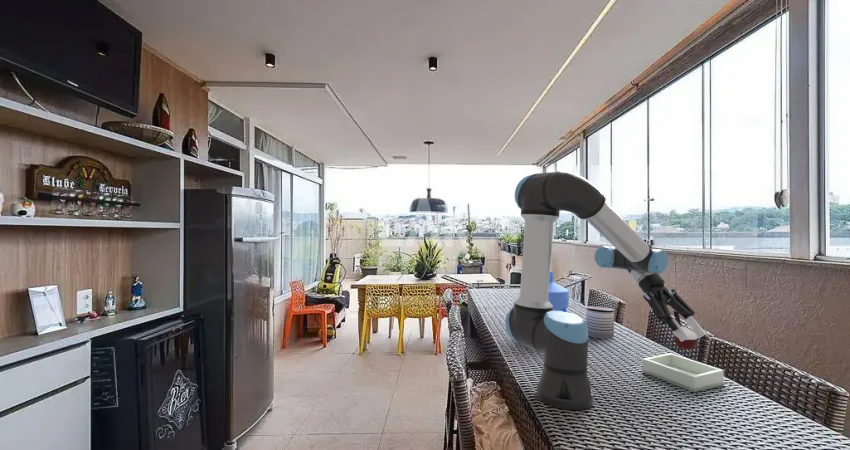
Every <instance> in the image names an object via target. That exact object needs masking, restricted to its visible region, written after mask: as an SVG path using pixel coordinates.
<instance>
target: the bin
mask: <svg viewBox="0 0 850 450" xmlns="http://www.w3.org/2000/svg"><path fill="white" fill-rule="evenodd" d="M641 368H642V370H641V372H642V373H644V374H646V375H648V374H649V376H651V375H652V376H651V377H654V376H655V377H654V378H656V377H657V378H656V379H659V378H660V379H659V380H661V379H662V380H661V381H664V380H665V381H664V382H666V381H667V383H669V382H670V383H669V384H672V385H674V384H675V386H677V387H679V386H680V387H679V388H682V389H684V388H685V390H687V391H690V392H691V393H692V392H693V393H697V392H701V391H705V390H708V389H712V388H716V387H720V386H723V385H724V376H725V375H724V373H725V371H724V369H721V368H718V367H714V366H712V365H708V364H705V363H704V362H703V363H702V362H700V361H697V360H694V359H690V358H686V357H684V356H681V355H678V354H675V353H671V352H669V353H664V354H659V355H654V356H649V357H644V358H642V367H641Z"/></svg>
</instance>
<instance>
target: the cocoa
mask: <svg viewBox="0 0 850 450" xmlns="http://www.w3.org/2000/svg"><path fill="white" fill-rule="evenodd" d="M673 315H674V319H675V320H676V321H677V322H678V324H679V325H680V326H681V327H682V329H683V330H684V331H685V333H686V334H687V335H688V338H687V339H685V340H684V341H682V342H681V341H680V340H679V338H678V337H677V336H676V334H675V333H674V332H673V331H672V332H673V339H674V342H675V346H677V347H678V348H680V349H681V350H688V351H689V350H690V351H691V350H694V349H695V348H696V346H697V344H698V339H699V338H698V336H697V335H696V333H695V332H694V331H692V330H691V328H688V327H686V326H682V323H681V318H680V314H679V313H678V312H677V311H675V310H673Z"/></svg>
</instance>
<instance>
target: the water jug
mask: <svg viewBox="0 0 850 450" xmlns="http://www.w3.org/2000/svg"><path fill="white" fill-rule="evenodd" d="M554 274H555V273H554V272H553V271H550V280H549V294H548V301H549V302H550V303H551V304H552V306H553V309H552V311H564V312H567V308H568V307H569V304H570V303H569V301H570V295H569V293H570V292H569V289H567V288H565V287H563V286H562V285H560V284H558V283H556V282H554Z"/></svg>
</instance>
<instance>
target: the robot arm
mask: <svg viewBox="0 0 850 450" xmlns="http://www.w3.org/2000/svg"><path fill="white" fill-rule="evenodd" d="M514 201H515V204H516V205H517V207H518V208H519V209H520V217H521V218H522V219H523V220H524V235H523V246H522V247H523V248H522V260H521V262H522V263H521V273H520V274H521V275H520V290H519V297H518V298H516V300H514V304H513V307H511V308H510V309H509V311H508V312H507V314H506V316H505V322H504V323H505V325H504V327H505V330H506V333H507V334H508V336H509V337H510V339H511V340H513V341H514V342H516V343H517V344H519V345H520V346H522V347H526V348H528V349H531V350H533V351H535V352H537V353H541V354H543V368H542V369H543V370H542V373H541V375H540V377H539V382H538V383H537V385H536V396H537V399H539V400H540V401H541V402H542V403H544V404H546V405H548V406H551V407H554V408H557V409H562V410H568V411H580V410H581V411H582V410H587V409H589V408H592V406H593V405H594V392H593V390H592V386H591V382H590V379H589V376H588V354H589V351H588V350H589V335H588V326H587V323H586V319H584V318H583V317H581V316H580V315H577V314H575V313H572V312H569V311H566V312H564V311H562V310H561V311H552V309H553V306H552V304H551V303H550V302H549V301H548V294H549V280H550V272H551V266H552V265H551V263H552V249H553V236H554V235H553V234H554V224H555V222H556V221H557V220H558V219H560V212H562V211H564V212H568V213H572V214H574V215H575V216H576V217H577V218H579V219H580V220H585V221H586V222H587V223H588V224H589V225H591V226H592V227H593V228H594V230H596V231H597V232H598V233H599V234H600V235H601V236H602V237H603V238H604V239H605V240H607V241H608V242H609V243H610V244H611V245H602V246H599V247H597V249H596V250H595V252H594V261H595V263H596V265H597V266H599V267H600V268H606V269H610V268H611V269H621V270H626V271H627V272H628V273H629V274H630V276H631V278H632V279H633V280H634V282H635V283H636V284H638V287H639V288H640V289H641V290H642V292H643V293H644V294H643V296H642V298H643V299H644V300H645V301H646V302H647V304H648V305H649V307H650V309H651V311H652V312H653V313H654V315H655V317H656V319H657V320H658V321H659V322H661V324H663V325H666V324H667V326H668V327H669V328H670V330H671V331H672V332H674V333H675V334H676V336H677V337H678V338H679V340H680V341H681V342H682V341H684V340H685V339H687V338H688V335H687V334H686V333H685V331H684V330H683V329H682V327H683V326H682V325H681V326H680V325H679V324H678V322H677V321H676V320H675V318H672V315H671V312H670V310H669V308H668V306H670V307H671V309H673V311H676V312H678V313H679V316H681V317H682V318H684V322H685V323H686V325H687V326H688V327H689V329H690V330H692V331H694V332H695V333H696V335H697V336H698V338H697V339H700V338H702V337H704V336H705V335H707V333H706V331H705V330H704V329H703V328H702V326H701V325H700V324H699V323H698V321H697V320H696V319H695V318H694V315H695V313H696V312H695V311H694V309H692V307H690V306H689V305H688V303H687V302H686V301H685V300H684V299H683V298H682V297H681V296H680V295H679V294H678V293H677V291H676V289H675V288H672V289H671V290H669V289H668V288H667V287H666V286H665V283H666V282H665V279H663V277H662V276H661V275H660V274H662V273H664V272H665V271H667V268H668V266H669V257H668V254H667V252H666V251H664V250H663V249H657V248H655V249H653V248H652V247H651V246H650V245H649V244H648V243H647V242H646V241H645V240H644V239H643V238H642V237H641V236H640V235H639V234H638V233H637V232H636V231H635V230H634V228H632V227H631V226H630V225H629V224H628V223H627V221H626V220H624V219H623V218H622V216H620V215H619V213H617V212H616V211H615V209H613V208H612V206H611V205H610V204H609V203H608V202H607V197H606V196H605V194H604V193H603V192H602V191H601V190H600V189H599V188H598V187H597V186H596V185H594V184H593V182H590V181H589V180H587V179H586V178H585V177H583V176H581V175H579V174H577V173H576V172H572V171H568V170H558V171H551V172H550V171H549V172H542V173H541V172H539V173H538V172H537V173H533V174H529V175H527V176H525V177H523V178H522V179H521V180H520V181H518V183H517V185H516V188H515V190H514ZM674 333H673V334H674Z"/></svg>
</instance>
